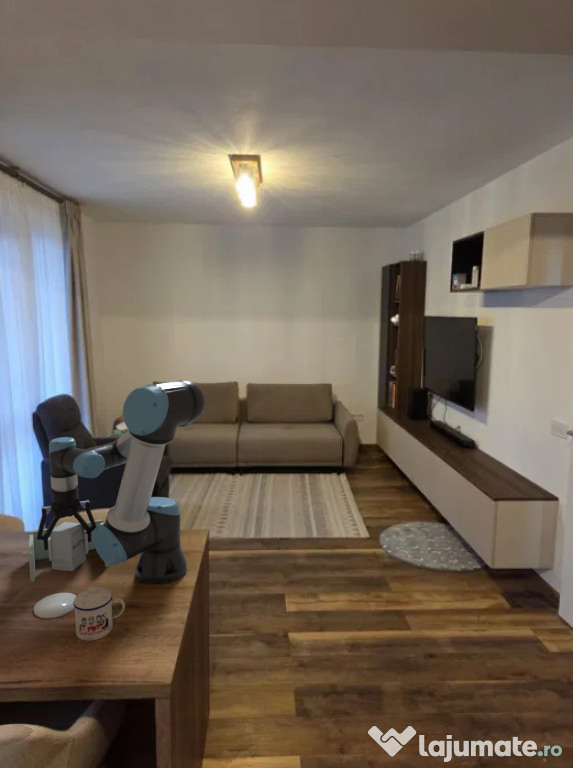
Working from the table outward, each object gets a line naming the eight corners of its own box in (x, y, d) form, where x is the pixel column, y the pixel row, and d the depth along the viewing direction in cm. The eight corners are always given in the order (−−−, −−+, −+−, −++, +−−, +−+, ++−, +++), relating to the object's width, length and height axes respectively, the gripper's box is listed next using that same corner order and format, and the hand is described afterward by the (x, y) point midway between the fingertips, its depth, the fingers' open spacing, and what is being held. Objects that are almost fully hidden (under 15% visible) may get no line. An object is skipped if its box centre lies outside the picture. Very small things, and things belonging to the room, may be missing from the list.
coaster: (86, 596, 140) (86, 594, 140) (62, 620, 130) (62, 618, 130) (50, 592, 142) (50, 590, 142) (24, 616, 131) (24, 613, 131)
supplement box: (72, 572, 154) (70, 533, 152) (51, 569, 155) (48, 530, 153) (86, 560, 161) (84, 523, 159) (66, 557, 162) (64, 521, 160)
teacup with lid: (75, 646, 120) (72, 601, 118) (75, 624, 128) (72, 582, 127) (127, 633, 125) (125, 590, 123) (123, 613, 133) (122, 572, 131)
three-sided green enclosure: (31, 559, 161) (29, 531, 160) (103, 545, 171) (102, 519, 169) (30, 582, 148) (28, 552, 146) (109, 566, 157) (107, 537, 156)
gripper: (102, 478, 162) (105, 543, 166) (24, 488, 153) (29, 557, 156) (104, 486, 156) (107, 553, 159) (23, 497, 146) (28, 568, 149)
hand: (68, 555), depth 157 cm, fingers closed on supplement box, 10 cm apart
